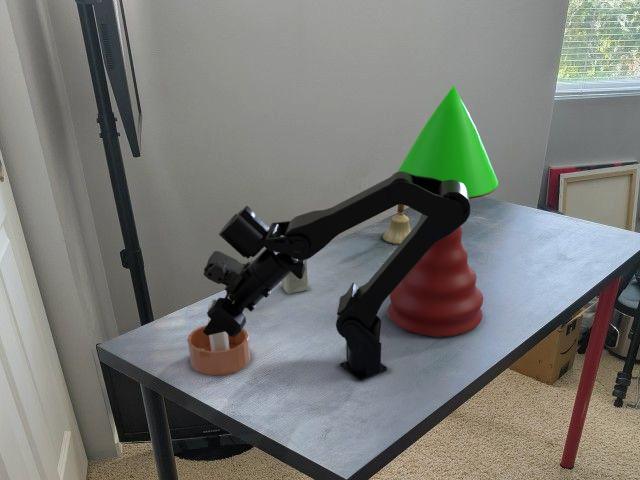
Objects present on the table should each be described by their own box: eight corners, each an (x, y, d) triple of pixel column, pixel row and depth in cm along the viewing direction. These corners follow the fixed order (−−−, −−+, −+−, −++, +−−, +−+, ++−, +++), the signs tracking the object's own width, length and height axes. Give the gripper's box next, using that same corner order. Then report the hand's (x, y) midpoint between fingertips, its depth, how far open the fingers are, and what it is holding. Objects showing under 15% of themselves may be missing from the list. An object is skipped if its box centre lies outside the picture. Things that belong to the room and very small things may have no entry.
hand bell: (421, 238, 187) (426, 176, 178) (399, 247, 182) (402, 183, 173) (398, 229, 192) (401, 168, 182) (376, 237, 187) (378, 175, 178)
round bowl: (260, 362, 137) (259, 340, 134) (207, 381, 131) (205, 359, 128) (232, 339, 144) (229, 317, 141) (180, 356, 138) (177, 334, 136)
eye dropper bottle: (204, 362, 135) (195, 304, 128) (216, 347, 140) (209, 291, 133) (225, 365, 134) (218, 307, 127) (237, 351, 139) (231, 294, 132)
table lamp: (488, 301, 158) (517, 78, 132) (473, 345, 143) (502, 102, 116) (401, 289, 163) (412, 70, 137) (376, 329, 147) (383, 92, 121)
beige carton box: (301, 282, 165) (299, 240, 159) (308, 290, 162) (307, 247, 156) (279, 286, 163) (277, 244, 157) (286, 294, 160) (284, 251, 154)
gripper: (243, 220, 131) (192, 273, 138) (213, 262, 116) (157, 319, 123) (288, 264, 134) (236, 313, 142) (264, 310, 119) (207, 362, 127)
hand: (210, 325), depth 133 cm, fingers closed on eye dropper bottle, 5 cm apart
